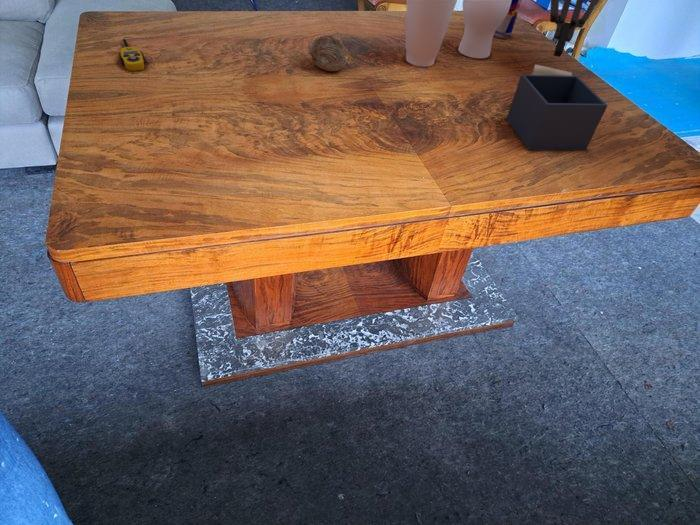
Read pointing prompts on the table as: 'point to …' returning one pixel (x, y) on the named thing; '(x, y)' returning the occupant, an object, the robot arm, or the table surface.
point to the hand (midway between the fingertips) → (558, 53)
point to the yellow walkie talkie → (131, 58)
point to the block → (549, 71)
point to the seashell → (327, 53)
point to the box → (555, 112)
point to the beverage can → (508, 21)
